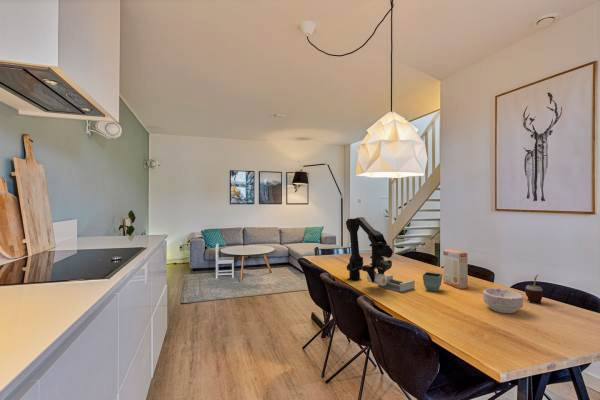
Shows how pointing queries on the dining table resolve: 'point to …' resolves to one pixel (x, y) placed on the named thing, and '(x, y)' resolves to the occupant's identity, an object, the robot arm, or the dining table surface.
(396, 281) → the cradle
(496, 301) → the grey stone bowl
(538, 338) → the dining table surface
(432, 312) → the dining table surface
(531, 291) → the mate gourd
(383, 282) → the paper roll
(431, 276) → the flower pot
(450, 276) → the cracker box
